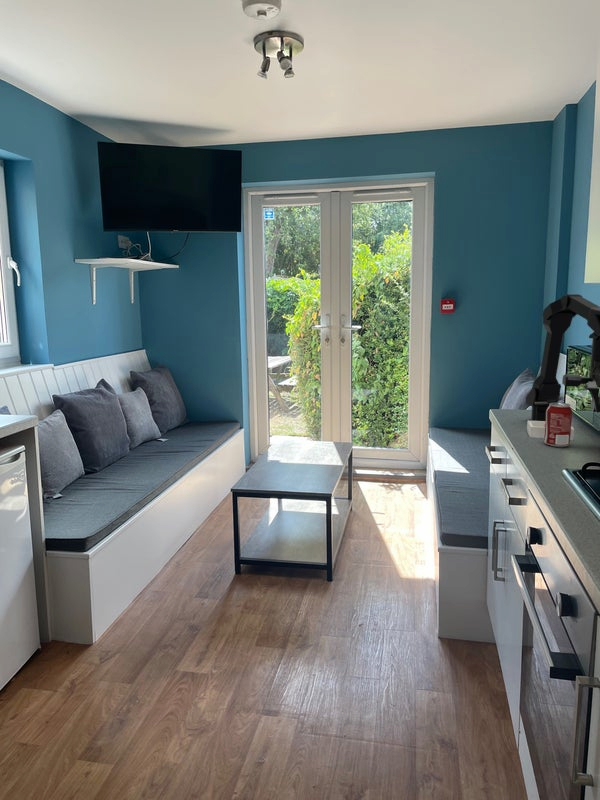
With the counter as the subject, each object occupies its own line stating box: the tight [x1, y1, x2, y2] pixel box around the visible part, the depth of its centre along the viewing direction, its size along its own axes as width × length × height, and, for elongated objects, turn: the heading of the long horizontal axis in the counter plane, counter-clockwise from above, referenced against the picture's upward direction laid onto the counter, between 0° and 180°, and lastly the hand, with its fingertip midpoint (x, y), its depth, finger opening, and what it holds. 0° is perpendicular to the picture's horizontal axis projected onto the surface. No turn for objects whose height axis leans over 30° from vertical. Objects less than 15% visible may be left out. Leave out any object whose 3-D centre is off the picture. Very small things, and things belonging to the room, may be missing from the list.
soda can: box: [543, 402, 573, 448], centre depth 164 cm, size 7×7×12 cm
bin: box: [526, 420, 575, 442], centre depth 176 cm, size 9×12×4 cm
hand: (597, 411), depth 161 cm, fingers closed
